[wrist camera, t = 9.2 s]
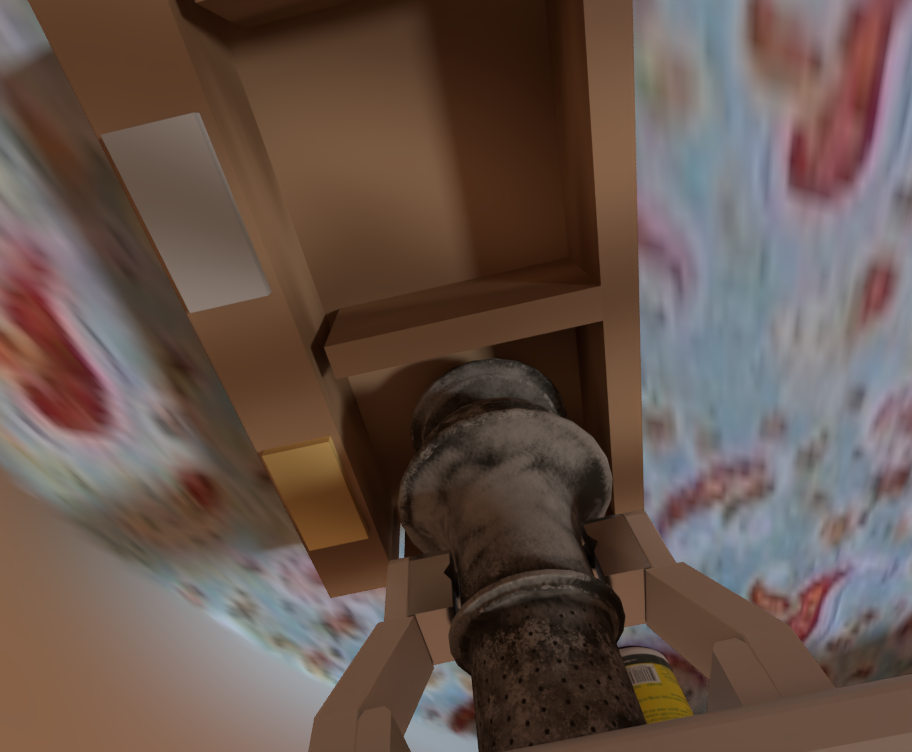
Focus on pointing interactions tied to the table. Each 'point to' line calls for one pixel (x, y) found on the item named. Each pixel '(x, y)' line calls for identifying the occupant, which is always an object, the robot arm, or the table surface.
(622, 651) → the supplement bottle
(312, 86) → the divided sorting tray
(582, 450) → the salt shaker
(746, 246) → the table surface
